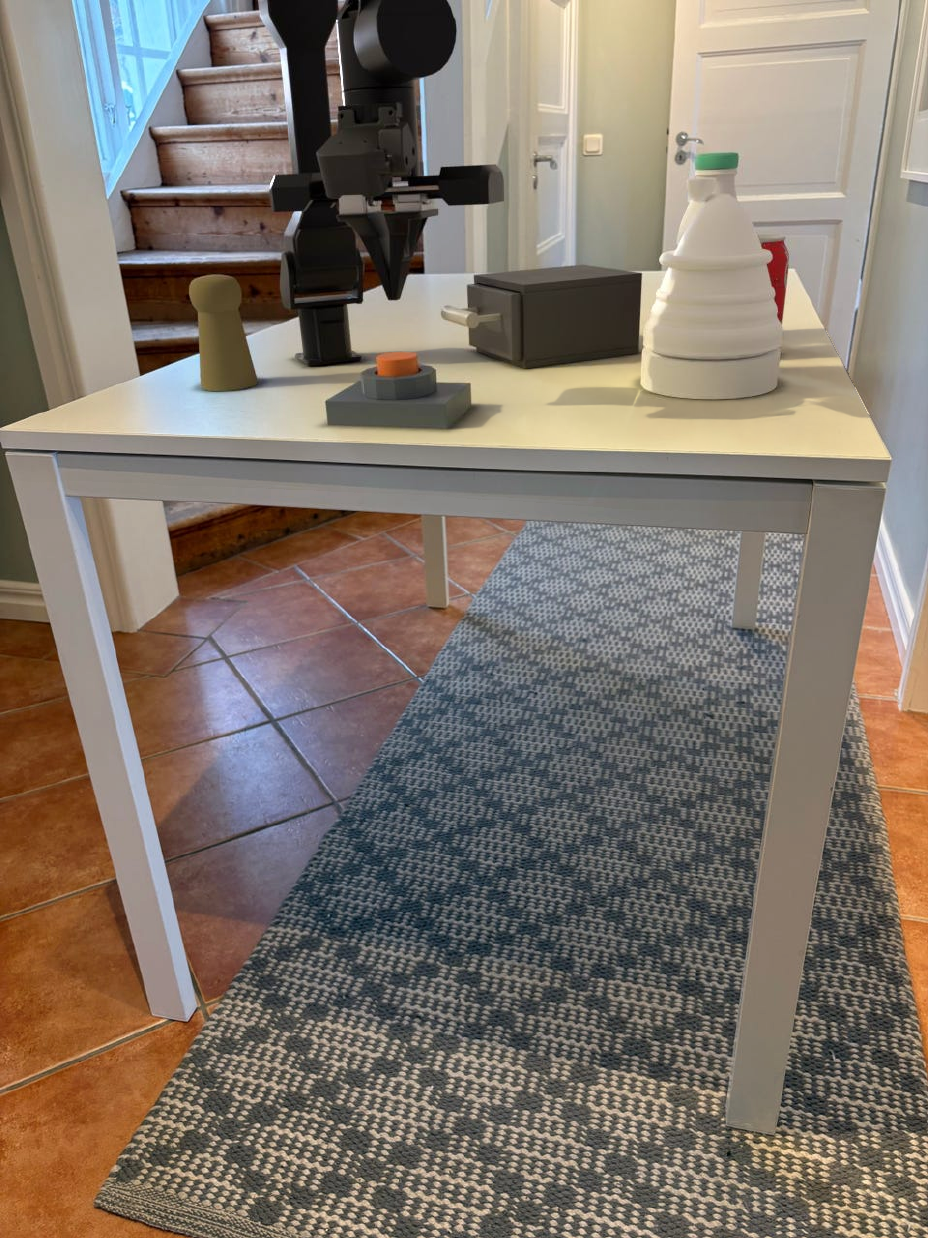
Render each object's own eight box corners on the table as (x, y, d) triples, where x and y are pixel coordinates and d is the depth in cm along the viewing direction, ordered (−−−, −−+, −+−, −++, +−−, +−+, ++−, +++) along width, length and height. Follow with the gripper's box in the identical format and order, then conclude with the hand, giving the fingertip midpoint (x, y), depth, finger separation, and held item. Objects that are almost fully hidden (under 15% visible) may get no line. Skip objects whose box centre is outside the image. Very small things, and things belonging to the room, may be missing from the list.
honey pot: (627, 395, 84) (636, 182, 76) (654, 367, 95) (664, 178, 87) (770, 402, 80) (796, 176, 72) (782, 372, 90) (805, 172, 82)
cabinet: (524, 368, 97) (524, 284, 93) (476, 350, 107) (473, 274, 104) (638, 353, 102) (642, 272, 98) (581, 337, 112) (582, 264, 109)
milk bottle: (744, 336, 109) (762, 150, 100) (724, 347, 103) (741, 151, 94) (683, 332, 113) (695, 153, 103) (660, 343, 107) (671, 154, 98)
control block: (327, 425, 79) (322, 379, 77) (361, 403, 86) (357, 360, 84) (446, 429, 76) (444, 382, 74) (471, 406, 83) (470, 362, 81)
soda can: (781, 361, 95) (796, 238, 90) (713, 361, 96) (723, 240, 91) (775, 348, 101) (788, 233, 96) (710, 348, 103) (719, 235, 97)
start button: (372, 379, 78) (370, 359, 77) (386, 371, 81) (384, 351, 81) (411, 380, 77) (409, 359, 77) (424, 371, 80) (422, 351, 80)
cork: (208, 393, 92) (189, 280, 87) (195, 383, 97) (176, 275, 92) (265, 385, 95) (249, 275, 90) (250, 376, 100) (234, 270, 95)
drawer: (476, 365, 95) (473, 298, 92) (435, 349, 105) (431, 287, 102) (618, 346, 101) (621, 282, 98) (568, 332, 111) (568, 274, 108)
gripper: (221, 93, 66) (253, 314, 73) (465, 74, 61) (473, 313, 68) (288, 100, 76) (310, 295, 83) (503, 85, 71) (507, 294, 78)
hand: (394, 299), depth 77 cm, fingers closed
